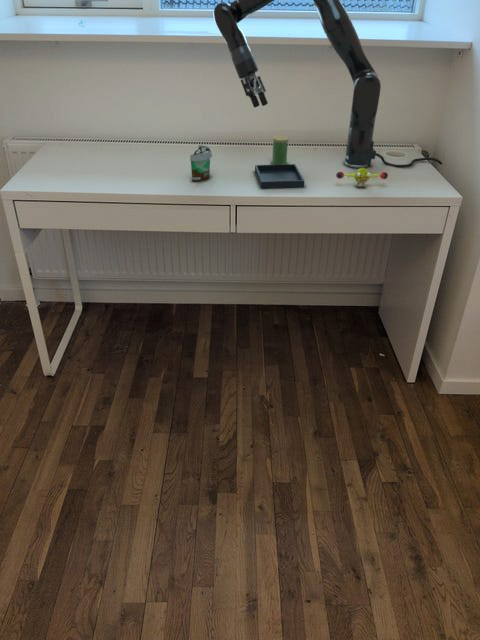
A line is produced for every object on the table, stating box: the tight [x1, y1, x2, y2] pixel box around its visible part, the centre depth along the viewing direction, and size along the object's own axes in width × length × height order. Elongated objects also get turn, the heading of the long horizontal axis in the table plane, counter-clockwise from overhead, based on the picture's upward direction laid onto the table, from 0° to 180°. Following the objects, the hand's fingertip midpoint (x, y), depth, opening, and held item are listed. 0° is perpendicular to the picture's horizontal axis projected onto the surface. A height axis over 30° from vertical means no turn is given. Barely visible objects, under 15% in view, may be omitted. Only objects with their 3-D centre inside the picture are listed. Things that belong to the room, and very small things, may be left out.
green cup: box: [271, 135, 289, 165], centre depth 207 cm, size 6×6×10 cm
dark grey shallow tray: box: [254, 163, 305, 190], centre depth 195 cm, size 15×17×2 cm
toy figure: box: [336, 167, 389, 188], centre depth 189 cm, size 18×6×7 cm, turn 90°
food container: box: [189, 144, 213, 183], centre depth 194 cm, size 12×6×10 cm, turn 168°
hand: (261, 105), depth 198 cm, fingers open, 8 cm apart
